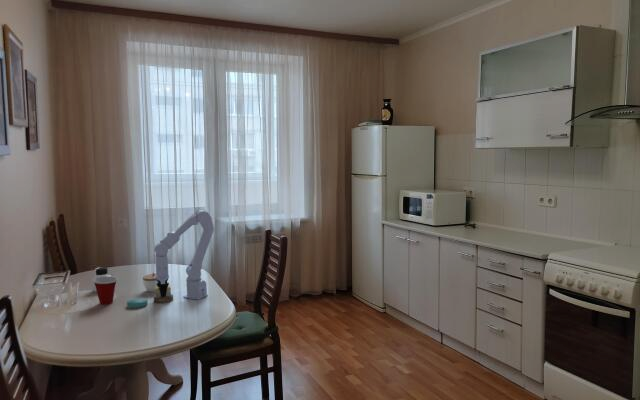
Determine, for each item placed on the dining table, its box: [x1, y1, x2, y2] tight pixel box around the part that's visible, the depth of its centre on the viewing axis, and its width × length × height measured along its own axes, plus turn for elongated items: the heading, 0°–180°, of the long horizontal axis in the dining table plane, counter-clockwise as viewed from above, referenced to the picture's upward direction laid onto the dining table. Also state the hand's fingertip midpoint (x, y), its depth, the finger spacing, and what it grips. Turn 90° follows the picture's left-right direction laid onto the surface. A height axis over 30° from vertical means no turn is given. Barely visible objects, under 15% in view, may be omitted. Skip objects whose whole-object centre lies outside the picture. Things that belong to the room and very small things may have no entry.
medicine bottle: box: [91, 266, 112, 292], centre depth 252 cm, size 7×7×12 cm
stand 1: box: [126, 297, 148, 310], centre depth 225 cm, size 9×9×2 cm
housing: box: [155, 284, 172, 298], centre depth 232 cm, size 7×4×5 cm, turn 109°
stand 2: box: [153, 293, 174, 304], centre depth 233 cm, size 9×9×2 cm
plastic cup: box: [93, 276, 118, 306], centre depth 229 cm, size 11×11×12 cm
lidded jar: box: [142, 272, 158, 293], centre depth 249 cm, size 11×11×9 cm
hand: (163, 294), depth 232 cm, fingers open, 7 cm apart
